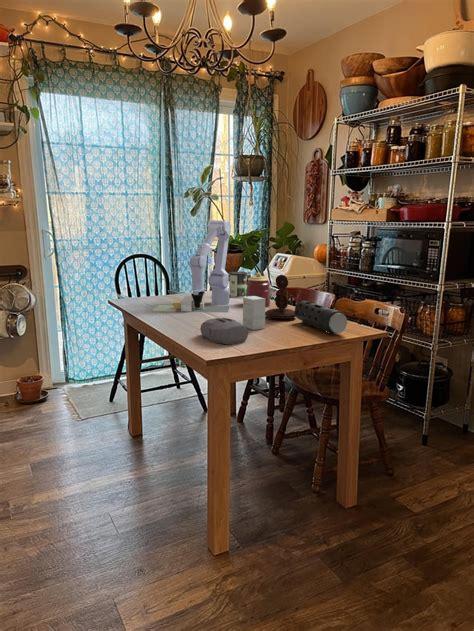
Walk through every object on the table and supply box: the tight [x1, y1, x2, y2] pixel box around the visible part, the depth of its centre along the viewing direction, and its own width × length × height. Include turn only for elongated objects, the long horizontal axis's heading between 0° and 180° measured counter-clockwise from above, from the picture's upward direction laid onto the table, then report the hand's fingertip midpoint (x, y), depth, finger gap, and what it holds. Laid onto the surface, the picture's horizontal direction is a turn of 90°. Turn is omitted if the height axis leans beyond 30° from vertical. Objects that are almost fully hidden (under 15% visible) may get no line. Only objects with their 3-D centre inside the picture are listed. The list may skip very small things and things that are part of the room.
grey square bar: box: [180, 295, 194, 313], centre depth 245 cm, size 5×15×5 cm, turn 179°
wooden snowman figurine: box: [265, 274, 297, 321], centre depth 226 cm, size 15×15×20 cm
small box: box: [242, 296, 266, 331], centre depth 207 cm, size 8×6×13 cm
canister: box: [246, 272, 271, 308], centre depth 256 cm, size 13×13×18 cm
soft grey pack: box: [199, 317, 249, 345], centre depth 189 cm, size 15×8×20 cm
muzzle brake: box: [294, 300, 348, 335], centre depth 206 cm, size 10×28×10 cm, turn 23°
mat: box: [152, 304, 230, 313], centre depth 245 cm, size 37×16×1 cm, turn 89°
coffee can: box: [228, 271, 248, 299], centre depth 283 cm, size 10×10×14 cm
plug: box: [171, 301, 205, 309], centre depth 245 cm, size 16×3×3 cm, turn 87°
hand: (198, 306), depth 245 cm, fingers open, 4 cm apart
